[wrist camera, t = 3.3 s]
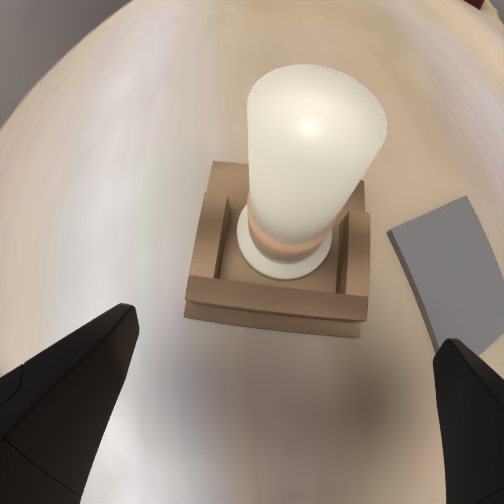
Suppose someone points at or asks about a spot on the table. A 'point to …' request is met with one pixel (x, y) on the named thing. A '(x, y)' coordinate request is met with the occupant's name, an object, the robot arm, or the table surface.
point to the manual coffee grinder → (475, 3)
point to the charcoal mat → (453, 275)
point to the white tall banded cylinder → (303, 164)
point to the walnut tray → (271, 291)
